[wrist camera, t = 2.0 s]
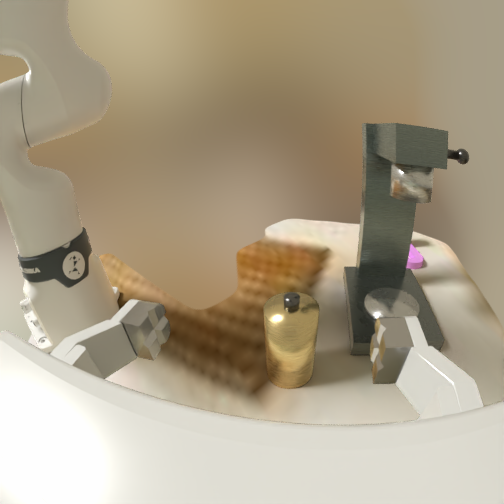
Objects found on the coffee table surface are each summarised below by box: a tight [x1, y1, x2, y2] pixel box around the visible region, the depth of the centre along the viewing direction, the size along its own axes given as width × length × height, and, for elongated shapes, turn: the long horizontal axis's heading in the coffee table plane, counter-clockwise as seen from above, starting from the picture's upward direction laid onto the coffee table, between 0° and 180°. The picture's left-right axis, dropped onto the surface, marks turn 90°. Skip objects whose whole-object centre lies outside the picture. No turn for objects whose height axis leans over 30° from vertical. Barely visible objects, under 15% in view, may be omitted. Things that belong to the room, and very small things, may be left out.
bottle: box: [264, 292, 319, 389], centre depth 26 cm, size 5×5×10 cm
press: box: [343, 123, 469, 355], centre depth 29 cm, size 18×20×25 cm
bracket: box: [406, 244, 423, 269], centre depth 49 cm, size 13×6×7 cm, turn 173°
